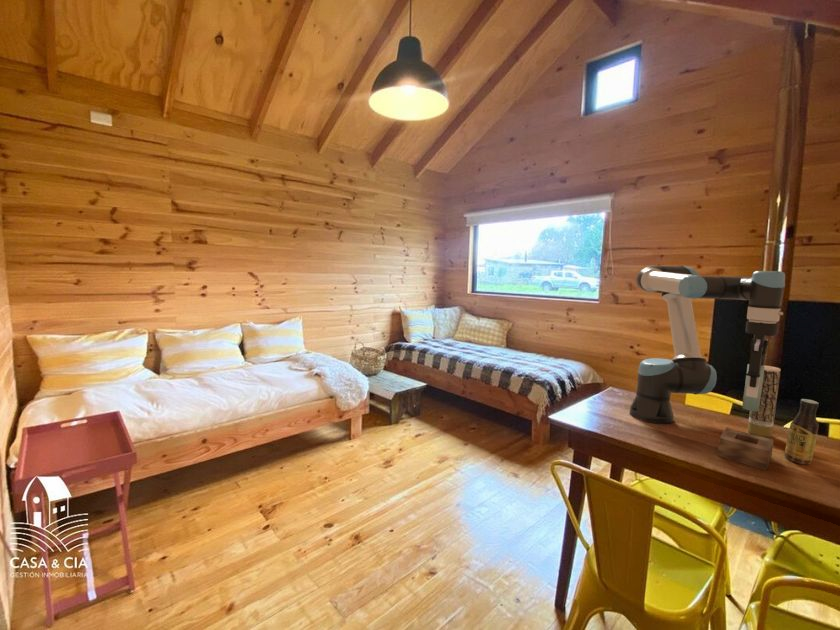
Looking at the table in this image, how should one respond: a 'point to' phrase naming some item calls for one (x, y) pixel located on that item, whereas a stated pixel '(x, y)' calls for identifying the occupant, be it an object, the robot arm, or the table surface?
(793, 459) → the sauce bottle
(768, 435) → the bark-textured cylinder
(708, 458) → the table surface
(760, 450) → the bore block
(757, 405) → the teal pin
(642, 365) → the robot arm
